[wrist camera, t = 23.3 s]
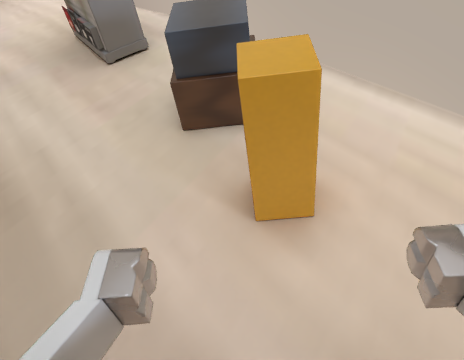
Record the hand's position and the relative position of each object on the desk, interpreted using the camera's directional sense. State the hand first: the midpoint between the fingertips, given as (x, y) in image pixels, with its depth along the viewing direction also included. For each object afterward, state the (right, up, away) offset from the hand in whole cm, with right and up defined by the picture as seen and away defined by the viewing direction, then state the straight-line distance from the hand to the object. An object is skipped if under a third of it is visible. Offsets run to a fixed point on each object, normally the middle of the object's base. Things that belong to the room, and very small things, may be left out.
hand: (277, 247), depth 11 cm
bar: (+2, +1, +15) cm, 15 cm away
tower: (-2, +10, +25) cm, 27 cm away
